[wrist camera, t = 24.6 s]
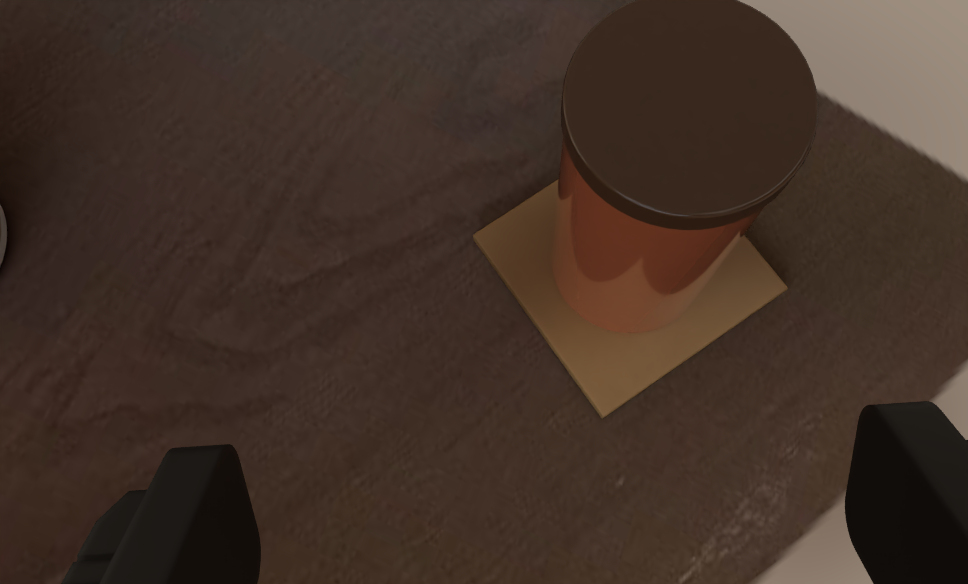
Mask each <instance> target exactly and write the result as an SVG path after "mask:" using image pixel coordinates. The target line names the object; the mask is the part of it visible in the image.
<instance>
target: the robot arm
mask: <svg viewBox="0 0 968 584" xmlns="http://www.w3.org/2000/svg"><path fill="white" fill-rule="evenodd" d="M845 514H846V522H847V527H848V531H849V535H850V538H851V541H852V544H853V546H854V548H855V550H856V552H857V554H858V556H859V557H860V559H861V561H862V563H863V565H864V567H865V569H866V570H867V572H868V574H869V576H870V578H871V580H872V581H873V583H874V584H968V440H965V439H964V437H963V436H962V435H961V434H960V433H959V431H958V430H957V429H956V428H955V427H954V425H953V424H952V423H951V422H950V421H949V419H948V418H947V417H946V416H945V414H944V413H943V412H942V411H941V410H940V409H939V408H938V407H937V406H936V405H935V404H934V403H932V402H929V401H923V402H908V403H892V404H877V405H867V406H865V407H864V408H863V410H862V411H861V414H860V416H859V421H858V426H857V432H856V438H855V444H854V450H853V456H852V461H851V467H850V473H849V479H848V485H847V491H846V497H845ZM77 557H78V560H77V562H73V564H72V566H71V567H70V569H69V571H68V573H67V574H66V576H65V578H64V580H63V582H62V583H61V584H257V582H258V578H259V572H260V561H261V547H260V537H259V532H258V528H257V524H256V520H255V516H254V513H253V509H252V505H251V501H250V498H249V494H248V490H247V486H246V483H245V479H244V475H243V471H242V468H241V464H240V460H239V457H238V454H237V452H236V450H235V448H234V447H233V446H232V445H230V444H227V445H212V446H196V447H181V448H172V449H170V450H169V451H168V452H167V453H166V455H165V457H164V458H163V460H162V462H161V464H160V466H159V468H158V470H157V472H156V474H155V476H154V478H153V480H152V482H151V484H150V486H149V488H148V490H136V491H129V492H127V493H126V494H125V495H124V496H123V497H122V498H121V499H120V500H119V501H118V502H117V503H116V504H114V505H113V506H112V507H111V508H110V509H109V510H108V511H107V512H106V513H105V514H104V515H103V516H102V517H100V518H99V519H98V520H97V521H96V523H95V525H94V526H93V528H92V530H91V532H90V534H89V535H88V537H87V539H86V541H85V542H84V544H83V546H82V548H81V550H80V551H79V553H78V555H77Z"/></svg>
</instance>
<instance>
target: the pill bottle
mask: <svg viewBox="0 0 968 584" xmlns="http://www.w3.org/2000/svg"><path fill="white" fill-rule="evenodd" d="M6 243H7V225H6V218H5V215H4V211H3V209H2V207H1V205H0V266H1V263H2V261H3V257H4V253H5V249H6Z"/></svg>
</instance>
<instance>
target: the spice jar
mask: <svg viewBox="0 0 968 584" xmlns="http://www.w3.org/2000/svg"><path fill="white" fill-rule="evenodd" d="M817 122H818V99H817V91H816V86H815V83H814V79H813V75H812V73H811V70H810V68H809V66H808V64H807V61H806V59H805V58H804V56H803V54H802V53H801V51H800V49H799V48H798V46H797V45H796V44H795V43H794V41H793V40H792V39H791V38H790V36H789V35H788V34H787V33H786V32H785V31H784V30H783V29H782V28H781V27H780V26H779V25H778V24H777V23H775V22H774V21H772V20H771V19H770V18H769V17H767V16H766V15H765V14H763V13H761V12H760V11H758V10H756V9H754V8H753V7H751V6H748V5H746V4H744V3H742V2H740V1H737V0H634V1H632V2H629V3H627V4H625V5H623V6H622V7H620V8H618V9H616V10H614V11H613V12H612V13H610V14H609V15H607V16H606V17H605V18H603V19H602V20H601V21H600V22H599V23H598V24H596V25H595V26H594V27H593V28H592V29H591V30H590V31H589V32H588V34H587V35H586V36H585V37H584V39H583V40H582V41H581V42H580V44H579V46H578V47H577V49H576V51H575V52H574V54H573V56H572V58H571V61H570V63H569V65H568V68H567V72H566V75H565V79H564V84H563V93H562V103H561V127H562V133H563V142H562V151H561V161H560V171H559V180H558V190H557V200H556V210H555V219H554V229H553V239H552V248H551V267H552V272H553V276H554V279H555V283H556V285H557V287H558V289H559V291H560V293H561V295H562V296H563V298H564V299H565V301H566V302H567V303H568V304H569V306H570V307H571V308H572V309H573V310H574V311H575V312H576V313H578V314H579V315H580V316H581V317H583V318H584V319H586V320H587V321H589V322H591V323H592V324H594V325H596V326H599V327H601V328H604V329H606V330H610V331H615V332H621V333H641V332H648V331H652V330H655V329H659V328H661V327H663V326H666V325H668V324H669V323H671V322H673V321H675V320H676V319H677V318H679V317H680V316H681V315H682V314H684V313H685V312H686V311H687V310H688V308H689V307H690V306H691V305H692V304H693V302H694V301H695V300H696V298H697V297H698V296H699V294H700V293H701V292H702V290H703V289H704V288H705V286H706V285H707V284H708V282H709V281H710V280H711V278H712V277H713V275H714V274H715V273H716V271H717V270H718V269H719V267H720V266H721V265H722V263H723V262H724V261H725V259H726V258H727V257H728V255H729V254H730V253H731V251H732V250H733V249H734V247H735V246H736V245H737V243H738V242H739V240H740V239H741V238H742V236H743V235H744V234H745V232H746V231H747V230H748V228H749V227H750V226H751V224H752V223H753V222H754V220H755V219H756V218H757V216H758V215H759V214H760V212H761V211H762V210H763V208H764V207H765V206H766V205H767V204H769V203H770V202H771V201H772V200H774V199H775V198H776V197H777V196H778V195H779V194H780V193H781V192H782V190H783V189H784V188H785V187H786V186H787V185H788V183H789V182H790V181H791V179H792V178H793V177H794V175H795V174H796V173H797V171H798V170H799V168H800V167H801V166H802V164H803V163H804V161H805V159H806V157H807V155H808V153H809V151H810V149H811V146H812V143H813V140H814V137H815V134H816V128H817Z"/></svg>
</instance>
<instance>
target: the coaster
mask: <svg viewBox="0 0 968 584" xmlns="http://www.w3.org/2000/svg"><path fill="white" fill-rule="evenodd" d="M558 180H559V179H558ZM558 180H556V181H555V182H553V183H552V184H550V185H549V186H547V187H546V188H544V189H543V190H541V191H539V192H538V193H536V194H535V195H533V196H532V197H530V198H529V199H527V200H526V201H524V202H523V203H521V204H519V205H518V206H516V207H515V208H513V209H512V210H510V211H509V212H507V213H506V214H504V215H503V216H501V217H499V218H498V219H496V220H495V221H493V222H492V223H490V224H489V225H487V226H486V227H484V228H483V229H481V230H479V231H478V232H476V233H475V234H474V235H473V238H474V241H475V243H476V244H477V246H478V247H479V248H480V250H481V251H482V253H483V254H484V255H485V257H486V258H487V260H488V261H489V262H490V264H491V265H492V266H493V268H494V269H495V271H496V272H497V273H498V275H499V276H500V278H501V279H502V280H503V282H504V283H505V285H506V286H507V287H508V289H509V290H510V292H511V293H512V294H513V296H514V297H515V299H516V300H517V301H518V303H519V304H520V305H521V307H522V308H523V310H524V311H525V312H526V314H527V315H528V317H529V318H530V319H531V321H532V322H533V324H534V325H535V326H536V328H537V329H538V331H539V332H540V333H541V335H542V336H543V338H544V339H545V340H546V342H547V343H548V344H549V346H550V347H551V349H552V350H553V351H554V353H555V354H556V356H557V357H558V358H559V360H560V361H561V363H562V364H563V365H564V367H565V368H566V370H567V371H568V372H569V374H570V375H571V377H572V378H573V379H574V381H575V382H576V383H577V385H578V386H579V388H580V389H581V390H582V392H583V393H584V395H585V396H586V397H587V399H588V400H589V402H590V403H591V404H592V406H593V407H594V409H595V410H596V411H597V413H598V414H599V416H600V417H601V418H605V417H606V416H608V415H609V414H610V413H612V412H613V411H615V410H616V409H618V408H619V407H621V406H622V405H623V404H625V403H626V402H628V401H629V400H631V399H632V398H633V397H635V396H636V395H638V394H639V393H641V392H642V391H643V390H645V389H646V388H648V387H649V386H651V385H652V384H653V383H655V382H656V381H658V380H659V379H661V378H662V377H664V376H665V375H666V374H668V373H669V372H671V371H672V370H674V369H675V368H676V367H678V366H679V365H681V364H682V363H684V362H685V361H686V360H688V359H689V358H691V357H692V356H694V355H695V354H696V353H698V352H699V351H701V350H702V349H704V348H705V347H707V346H708V345H709V344H711V343H712V342H714V341H715V340H717V339H718V338H719V337H721V336H722V335H724V334H725V333H727V332H728V331H729V330H731V329H732V328H734V327H735V326H737V325H738V324H739V323H741V322H742V321H744V320H745V319H747V318H748V317H750V316H751V315H752V314H754V313H755V312H757V311H758V310H760V309H761V308H762V307H764V306H765V305H767V304H768V303H770V302H771V301H772V300H774V299H775V298H777V297H778V296H780V295H781V294H782V293H784V292H785V291H786V290H787V289H788V287H787V286H786V285H785V283H784V282H783V281H782V280H781V279H780V277H779V276H778V275H777V274H776V273H775V271H774V270H773V269H772V268H771V266H770V265H769V264H768V263H767V262H766V260H765V259H764V258H763V257H762V256H761V254H760V253H759V252H758V251H757V250H756V248H755V247H754V246H753V245H752V243H751V242H750V241H749V240H748V239H747V237H746V236H745V235H743V236H742V238H741V239H740V240H739V242H738V243H737V245H736V246H735V247H734V249H733V250H732V251H731V253H730V254H729V255H728V257H727V258H726V259H725V261H724V262H723V263H722V265H721V266H720V267H719V269H718V270H717V271H716V273H715V274H714V275H713V277H712V278H711V280H710V281H709V282H708V284H707V285H706V286H705V288H704V289H703V290H702V292H701V293H700V294H699V296H698V297H697V298H696V300H695V301H694V302H693V304H692V305H691V306H690V307H689V308H688V310H687V311H686V312H685V313H684V314H682V315H681V316H680V317H679V318H677V319H676V320H675V321H673V322H671V323H669V324H668V325H666V326H663V327H661V328H659V329H655V330H652V331H648V332H641V333H621V332H615V331H610V330H606V329H604V328H601V327H599V326H596V325H594V324H592V323H591V322H589V321H587V320H586V319H584V318H583V317H581V316H580V315H579V314H578V313H576V312H575V311H574V310H573V309H572V308H571V307H570V306H569V304H568V303H567V302H566V301H565V299H564V298H563V296H562V295H561V293H560V291H559V289H558V287H557V285H556V283H555V279H554V276H553V272H552V267H551V248H552V239H553V229H554V219H555V210H556V200H557V190H558Z"/></svg>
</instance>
